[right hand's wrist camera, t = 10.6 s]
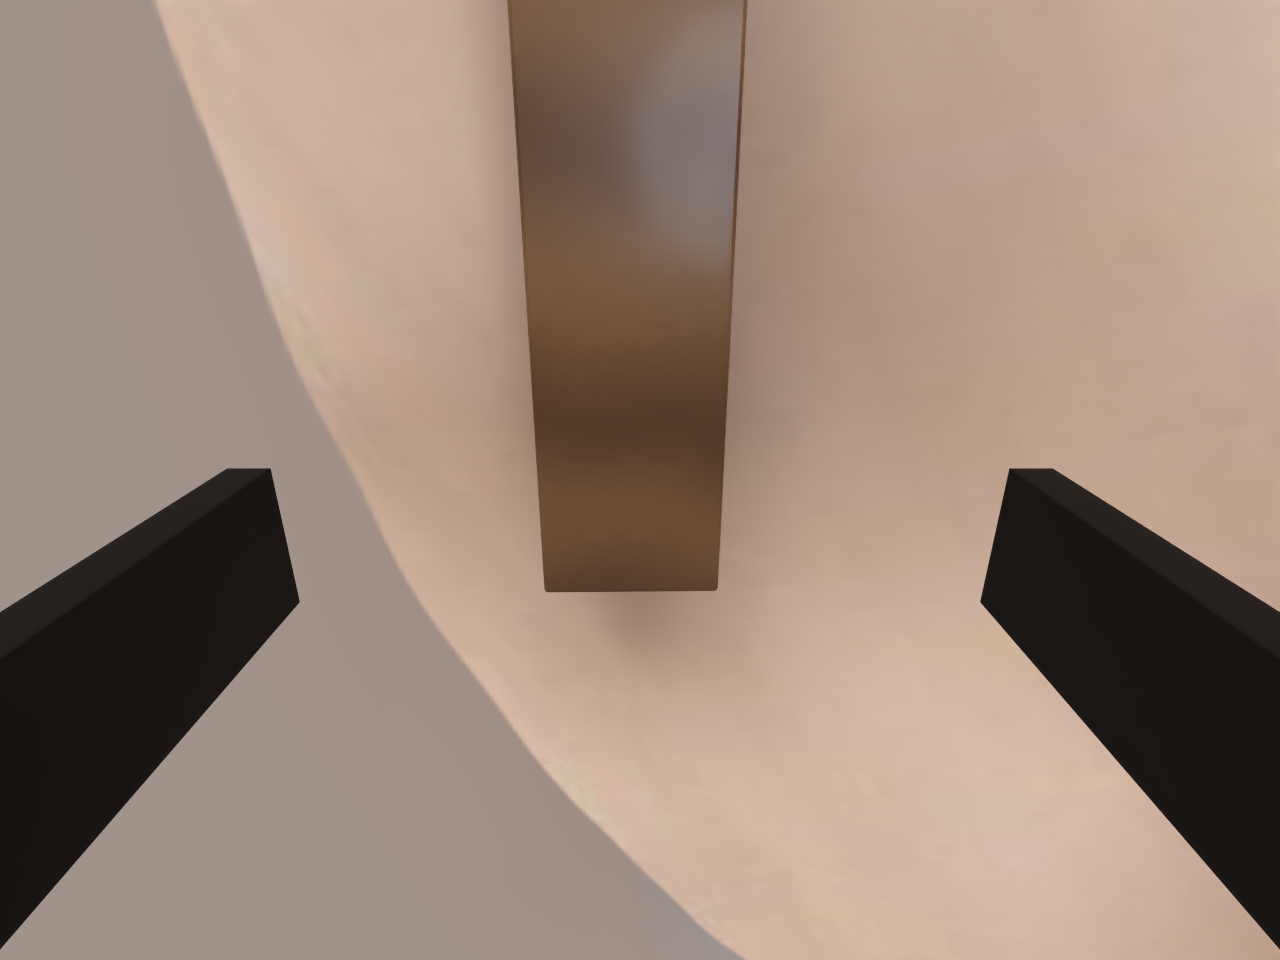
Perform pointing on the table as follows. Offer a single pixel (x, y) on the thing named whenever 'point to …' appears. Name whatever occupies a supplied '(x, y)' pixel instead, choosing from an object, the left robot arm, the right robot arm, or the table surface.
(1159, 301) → the table surface
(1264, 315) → the table surface
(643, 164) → the post
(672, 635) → the table surface
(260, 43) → the table surface
